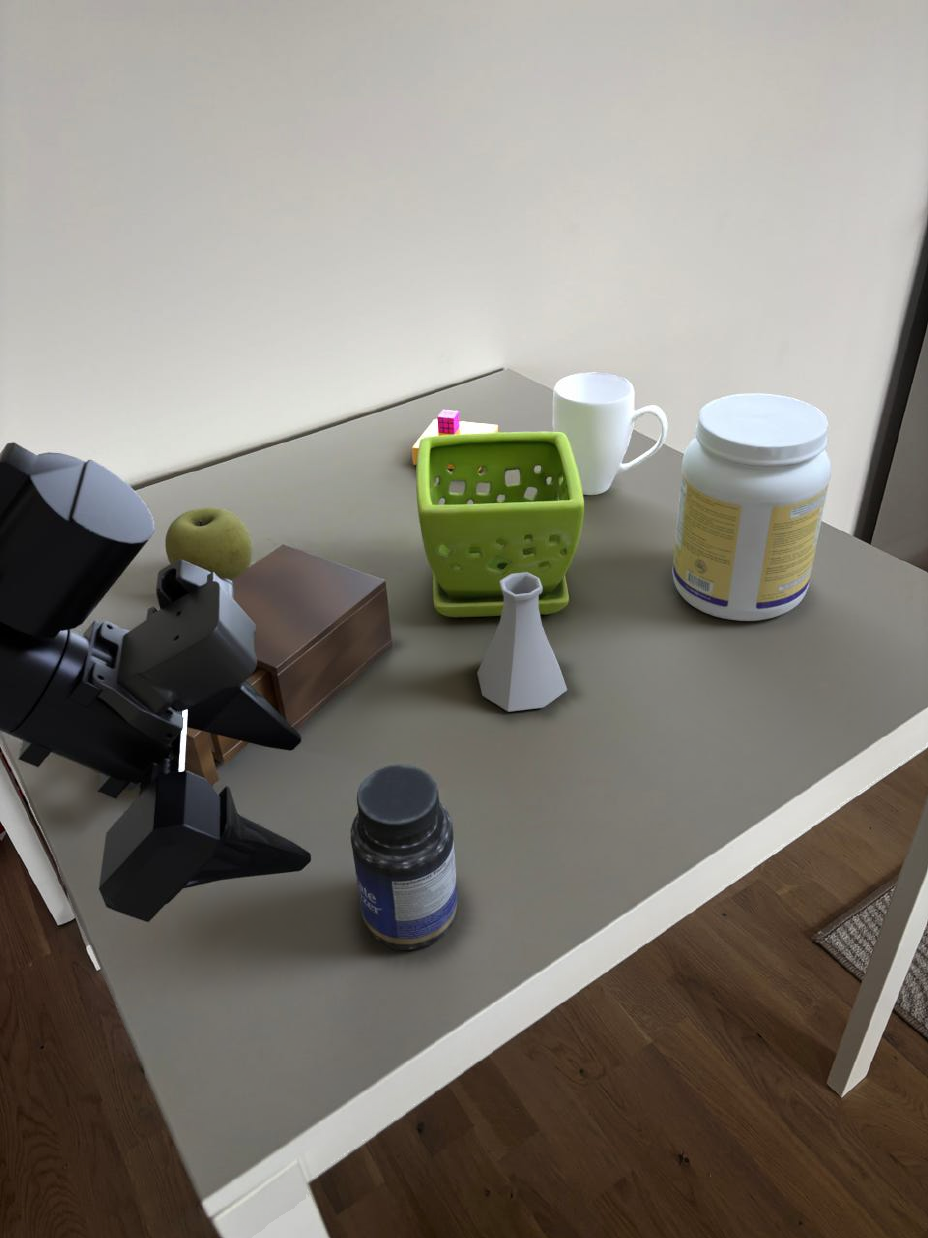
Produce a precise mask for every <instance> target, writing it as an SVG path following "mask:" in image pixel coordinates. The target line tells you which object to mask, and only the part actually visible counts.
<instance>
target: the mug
mask: <svg viewBox="0 0 928 1238" xmlns="http://www.w3.org/2000/svg"><path fill="white" fill-rule="evenodd" d="M648 414H650V415H653V416H655V417H656V418H657V419H658V421H659V423H660V428H661V429H660V434H659V438H658V440H657V442H656V444H655V445H653V446H652V447H651V448H650V449H648V450H647V451H645V452H644V453H642V454H641V455H640V456H638V457H636V458H635V459H633V460H632V461H630V462H627V463H623V459H624V458H625V455H626V453H627V450H628V448H629V445H630V443H631V439H632V436H633V435H632V434H633V430H634V425H635V422H637V421H638V420H639V419H640V418H642V417H643V416H645V415H648ZM668 429H669V428H668V418H667V415H666V414H665V412H664V411H663V409H661V407H659V406H657V405H647V406H643V407H641V408H639V409H637V410H635V388H634V386H633V384H632V383H631V382H630V381H629V380H628V379H626V378H624V377H622V376H620V375H616V374H612V373H606V372H596V371H594V372H593V371H591V372H590V371H589V372H579V373H574V374H571V375H568V376H565V377H563V378H561V379H559V381H557V382H556V384H555V385H554V387H553V394H552V432H562V433H564V434H565V435H566V436H567V439H568V441H569V443H570V446H571V449H572V452H573V455H574V458H575V462H576V466H577V469H578V473H579V477H580V482H581V487H582V493H583V496H597V495H600V494H604V493H605V492H607V491H608V490H609V488H610V487H611V484H613V480H614V478H615V477H616V475H617V474H622V473H625V472H627V471H629V470H631V469H633V468H635V467H636V466H638V465H640V464H642V463H643V462H644V461H646V460H647V459H649V458H650V457H652V456H653V455H655V454H656V453H657V452H658V451H659V450H660V449H661V447H662V446H663V445H664V443H665V441H666V439H667V435H668Z"/></svg>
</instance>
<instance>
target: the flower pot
mask: <svg viewBox="0 0 928 1238" xmlns="http://www.w3.org/2000/svg"><path fill="white" fill-rule="evenodd" d="M449 464H452V465H453V466H454V469H452V471H450V469H447V466H448V465H449ZM538 466H539V467H540V470H539V471H535V468H536V467H538ZM481 467H482V468H484V469H485V470H484V471H483V472H482V473H480V471H478V469H479V468H481ZM482 468H481V469H482ZM507 471H518V472H519V482H518V483H511V484H507V483H506V473H507ZM436 478H438V482H437V483H435V480H436ZM548 478H551V479H550V480H551V481H550V482H548ZM451 482H463V483H464V490H463V491H462V492H450V489H451V488H450V486H451ZM481 483H482V484H489V491H488V492H485V493H483V492H477V488H478V484H481ZM528 488H534V489H536V492H535V493H534V496H533V497H527V496H525V494H526V491H527V489H528ZM415 492H416V506H417V512H418V520H419V527H420V533H421V539H422V543H423V549H424V551H425V555H426V559H427V562H428V564H429V567H430V569H431V571H432V574H433V575H432V600H433V607H434V609H435V610H436V612H438V613H439V614H440V615H443V616H445V617H448V618H475V617H476V618H477V617H501V614H502V609H503V604H504V595H503V593H502V590H501V586H500V580H502V579H503V578H505V577H507V576H508V575H510V574H515V573H524V572H528V573H530V574H532V575H534V576H536V577H538V578H539V579H540V582H541V585H542V587H543V590H542V593H541V594H539V613H540V615H544V616H548V615H549V616H550V614H555V613H557V612H559V611H562V610H563V609H564V608H566V607H567V606H568V604H569V602H570V596H569V590H568V589H569V588H568V584H567V578H566V574H567V572H568V571H569V568H570V566H571V564H572V562H573V560H574V557H575V554H576V551H577V548H578V545H579V542H580V537H581V534H582V528H583V521H584V514H585V499H584V495H583V493H582V487H581V482H580V477H579V473H578V469H577V466H576V462H575V458H574V455H573V452H572V449H571V446H570V443H569V441H568V439H567V436H566V435H565V434H564V433H562V432H553V431H514V432H513V431H512V432H511V431H510V432H505V431H504V432H498V433H477V434H456V435H442V436H431V437H424V438H422V439H421V440H420V443H419V449H418V456H417V465H416V469H415ZM502 495H503V496H504V499H503V500H498V497H499V496H502ZM441 499H443V500H444V503H442V504H440V503H439V502H440V500H441ZM469 501H472V503H471V504H469V503H468V502H469Z"/></svg>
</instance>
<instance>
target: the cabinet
mask: <svg viewBox="0 0 928 1238" xmlns="http://www.w3.org/2000/svg"><path fill="white" fill-rule="evenodd" d="M231 581H232V582H233V585H234V600H235V602H236V603H237V604H238V605H239V606H240V607H241V608H242V610H243V611H244V612H245V613H246V614H247V615H248V616H249V618H250V619H251V620H252V621H253V622H254V623H255V625H256V633H255V634H254V642H255V653H256V655H257V666H258V667H261V668H263V669H265V670H268V671H270V672H271V675H272V680H273V685H274V690H275V694H276V699H277V704H278V709H279V714H280V715H281V716H282V717H283V718H284V719H285V720H286V721H287V722H288V723H289V724H290V725H291V726H292V727H293V728H294V729H295V730H296V731H297V730H299V729H300V728H301V727H302V726H303V725H304V724H305V723H306V722H308V721H309V720H310V719H311V718H312V717H314V715H315V714H317V713H318V712H320V710H321V709H322V708H324V707H325V706H326V705H328V703H329V702H330V701H332V700H333V699H334V698H335V697H336V696H338V694H339V693H341V691H343V690H344V689H345V688H347V686H348V685H350V684H351V683H352V682H353V681H354V680H355V679H357V678H358V677H359V676H360V675H361V674H362V673H363V672H364V671H366V670H367V669H368V668H369V667H370V666H371V665H372V664H373V663H374V662H375V661H377V660H378V659H379V658H380V657H381V656H382V655H383V654H385V653H386V652H387V651H388V650H389V649H390V648H392V647H393V638H392V631H391V630H392V629H391V617H390V610H389V609H390V608H389V600H388V591H387V582H386V581H387V580H386V579H383V578H380V577H378V576H375V575H371V574H369V573H366V572H364V571H360V570H358V569H355V568H352V567H349V566H346V565H343V564H341V563H338V562H335V561H332V560H329V559H327V558H324V557H321V556H318V555H315V554H313V553H309V552H307V551H303V550H301V549H299V548H295V547H293V546H290V545H287V544H285V543H283V544H282V545H280V546H279V547H277V548H275V549H274V550H273V551H271V552H270V553H268V554H266V556H264V557H262V558H261V559H259V560H258V561H256V562H255V563H253V564H252V565H250V566H249V568H248V569H246V570H245V571H243V572H242V573H240V574H239V575H238V576H236V577H235V578H233V579H232V580H231Z"/></svg>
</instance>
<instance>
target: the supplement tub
mask: <svg viewBox="0 0 928 1238" xmlns="http://www.w3.org/2000/svg"><path fill="white" fill-rule="evenodd" d="M828 429H829V420H828V418H827V416H826V415H825V414H824V412H822V411H821V410H820V409H818V408H817V407H816V406H814V405H812V404H810V403H808V402H805V401H802V400H800V399H796V398H793V397H789V396H784V395H779V394H771V393H755V392H754V393H753V392H752V393H736V394H732V395H731V394H730V395H726V396H722V397H719V398H716V399H714V400H712V401H709V402H707V403H706V404H705V405H703V407H702V408H701V409H700V410H699V413H698V418H697V424H696V426H695V430H694V431H695V432H694V436H695V437H694V438H693V439H692V440H691V441H690V442H689V444H688V445H687V447H686V449H685V451H684V454H683V457H682V461H681V476H680V486H679V487H680V488H679V495H678V497H679V498H678V507H677V518H676V528H675V541H674V550H673V551H674V552H673V562H672V567H671V573H672V579H673V583H674V586H675V588H676V590H677V591H678V593H679V595H680V596H682V599H684V600H685V601H686V602H687V603H688V604H689V605H691V606H692V607H694V608H695V609H696V610H698V611H700V612H702V613H704V614H707V615H710V616H713V617H716V618H720V619H726V620H730V621H731V620H732V621H740V622H744V621H745V622H756V621H762V620H764V621H765V620H769V619H773V618H777V617H779V616H782V615H785V614H786V613H788V612H790V611H791V610H794V609H795V608H796V607H797V606H798V605H799V604H800V603H801V602H802V601H803V599H804V598H805V596H806V594H807V592H808V589H809V586H810V581H811V575H812V569H813V564H814V558H815V554H816V550H817V549H816V548H817V545H818V540H819V539H818V538H819V534H820V530H821V529H820V528H821V524H822V519H823V518H822V517H823V514H824V509H825V503H826V498H827V494H828V488H829V484H830V480H831V476H832V462H831V459H830V456H829V454H828V451H827V450H826V448H827V446H828V440H829V439H828V438H829V437H828Z"/></svg>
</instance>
